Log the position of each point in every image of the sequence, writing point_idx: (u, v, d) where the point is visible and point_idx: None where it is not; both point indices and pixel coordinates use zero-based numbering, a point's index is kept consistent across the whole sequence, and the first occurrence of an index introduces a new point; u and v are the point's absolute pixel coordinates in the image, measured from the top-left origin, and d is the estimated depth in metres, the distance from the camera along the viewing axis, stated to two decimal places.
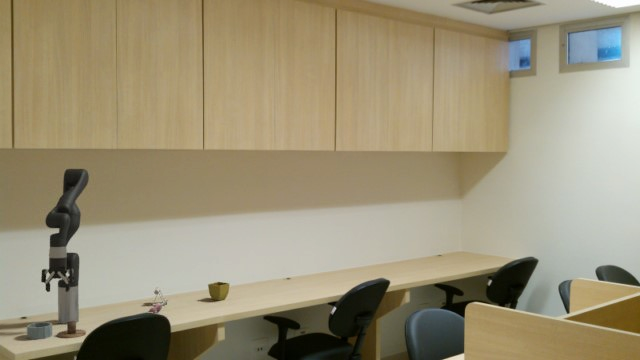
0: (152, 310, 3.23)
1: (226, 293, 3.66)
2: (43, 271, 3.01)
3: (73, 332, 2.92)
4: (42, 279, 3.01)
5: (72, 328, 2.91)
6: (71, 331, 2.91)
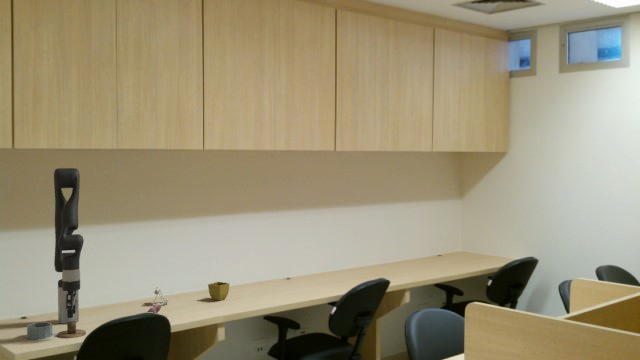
0: (151, 310, 3.23)
1: (226, 293, 3.66)
2: (72, 296, 2.87)
3: (73, 332, 2.92)
4: (72, 305, 2.86)
5: (72, 328, 2.91)
6: (71, 331, 2.91)
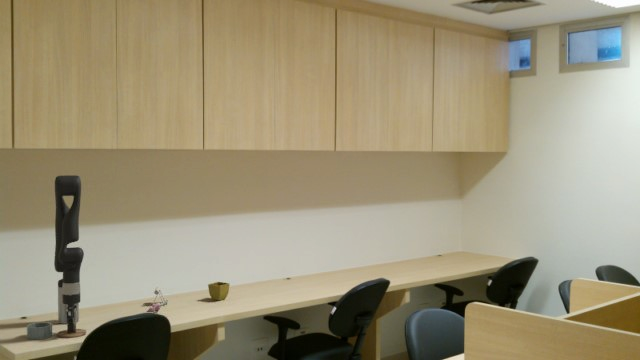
0: (151, 310, 3.23)
1: (226, 293, 3.66)
2: (72, 312, 2.87)
3: (73, 331, 2.92)
4: (73, 320, 2.89)
5: None
6: None
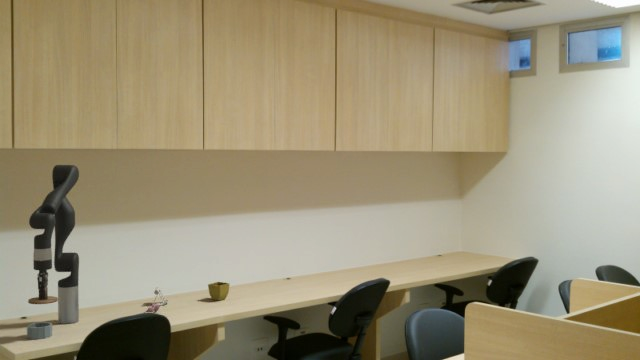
0: (150, 310, 3.24)
1: (226, 293, 3.66)
2: (43, 278, 2.84)
3: (44, 298, 2.88)
4: (44, 286, 2.85)
5: None
6: None
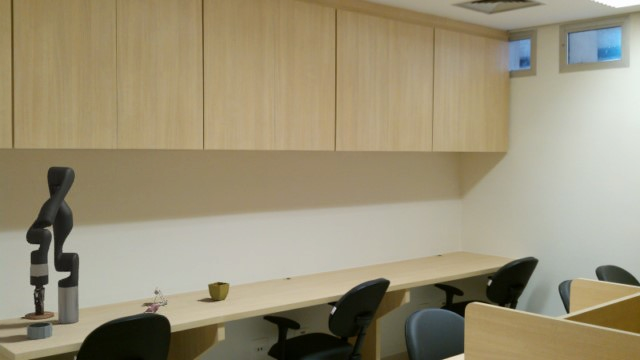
0: (149, 310, 3.24)
1: (226, 293, 3.66)
2: (40, 294, 2.84)
3: (41, 313, 2.88)
4: (40, 301, 2.85)
5: None
6: None
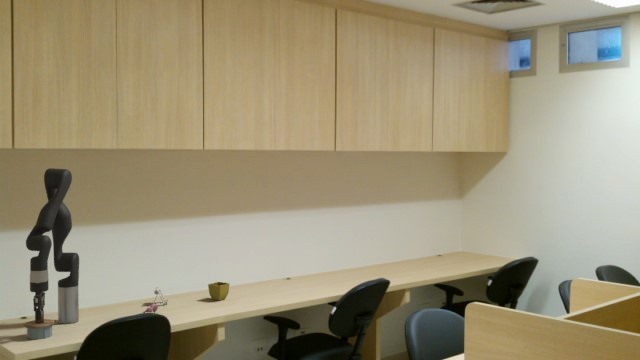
0: (148, 310, 3.24)
1: (226, 293, 3.66)
2: (39, 299, 2.84)
3: (41, 322, 2.88)
4: (40, 307, 2.85)
5: None
6: (39, 321, 2.88)
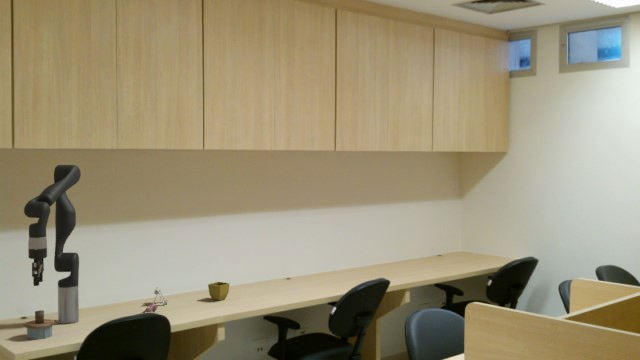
0: (148, 310, 3.24)
1: (226, 293, 3.66)
2: (38, 264, 2.83)
3: (41, 322, 2.88)
4: (38, 273, 2.83)
5: (40, 318, 2.88)
6: (39, 321, 2.88)
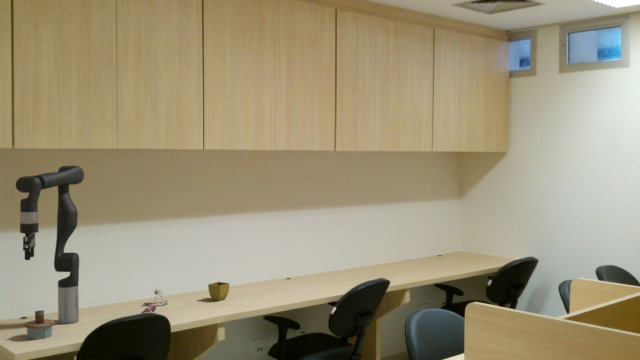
0: (147, 310, 3.24)
1: (226, 293, 3.66)
2: (29, 238, 2.85)
3: (41, 322, 2.88)
4: (29, 247, 2.84)
5: (40, 318, 2.88)
6: (39, 321, 2.88)
